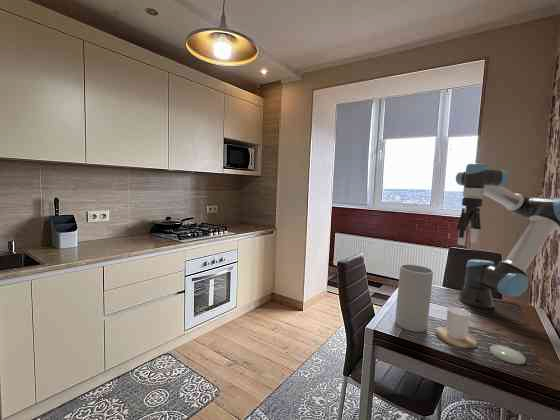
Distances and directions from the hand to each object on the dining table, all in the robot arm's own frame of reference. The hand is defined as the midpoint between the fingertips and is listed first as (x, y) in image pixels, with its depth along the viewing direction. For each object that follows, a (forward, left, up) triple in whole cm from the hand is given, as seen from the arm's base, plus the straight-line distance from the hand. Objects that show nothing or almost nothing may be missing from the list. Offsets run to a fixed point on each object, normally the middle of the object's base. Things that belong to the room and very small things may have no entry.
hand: (467, 243), depth 131 cm
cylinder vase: (+31, +2, -35) cm, 47 cm away
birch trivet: (+21, +15, -35) cm, 43 cm away
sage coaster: (+13, +29, -35) cm, 47 cm away
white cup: (+21, +15, -34) cm, 42 cm away
